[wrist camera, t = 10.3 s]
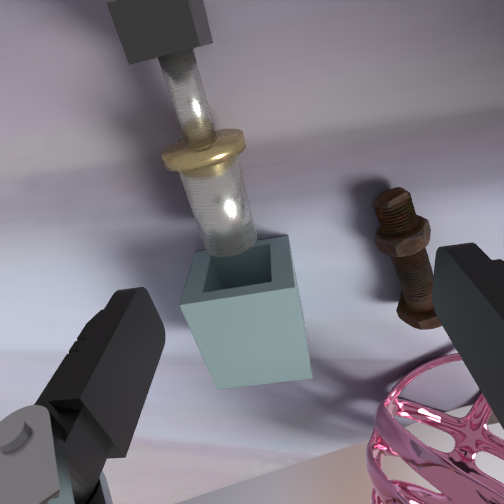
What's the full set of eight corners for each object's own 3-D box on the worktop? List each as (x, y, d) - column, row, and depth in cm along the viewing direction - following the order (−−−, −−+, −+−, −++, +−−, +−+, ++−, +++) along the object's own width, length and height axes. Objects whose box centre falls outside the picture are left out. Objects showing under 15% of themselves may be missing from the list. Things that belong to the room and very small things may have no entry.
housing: (288, 235, 35) (295, 287, 28) (303, 318, 41) (312, 378, 34) (195, 251, 36) (179, 305, 29) (224, 330, 42) (217, 389, 35)
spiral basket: (758, 435, 18) (602, 959, 17) (779, 457, 32) (694, 746, 30) (364, 300, 43) (287, 509, 41) (471, 345, 56) (416, 503, 55)
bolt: (385, 177, 33) (420, 287, 40) (347, 205, 32) (389, 314, 39) (438, 182, 28) (468, 308, 35) (395, 216, 27) (434, 339, 34)
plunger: (214, -12, 23) (200, -25, 18) (265, 218, 33) (266, 255, 27) (128, 13, 24) (89, 8, 19) (202, 229, 34) (191, 268, 28)
